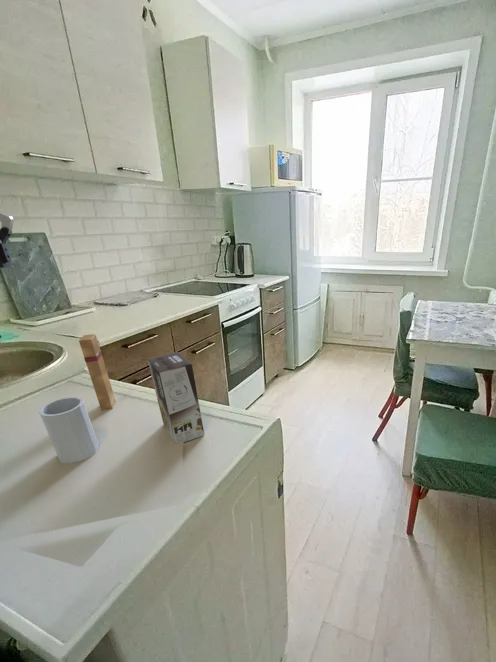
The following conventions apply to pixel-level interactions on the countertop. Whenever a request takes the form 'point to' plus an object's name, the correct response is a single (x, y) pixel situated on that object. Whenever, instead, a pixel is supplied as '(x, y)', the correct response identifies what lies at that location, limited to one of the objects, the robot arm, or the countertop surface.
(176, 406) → the coffee box
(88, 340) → the chopstick bundle
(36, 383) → the countertop surface
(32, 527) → the countertop surface
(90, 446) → the light gray cup
